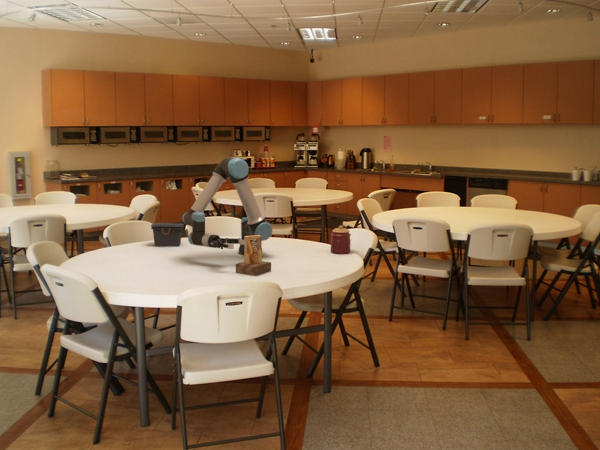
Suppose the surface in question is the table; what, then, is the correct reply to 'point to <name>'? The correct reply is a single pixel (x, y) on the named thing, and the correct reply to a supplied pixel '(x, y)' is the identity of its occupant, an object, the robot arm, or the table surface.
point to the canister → (340, 241)
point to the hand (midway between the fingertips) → (240, 244)
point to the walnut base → (253, 268)
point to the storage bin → (167, 234)
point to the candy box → (252, 249)
